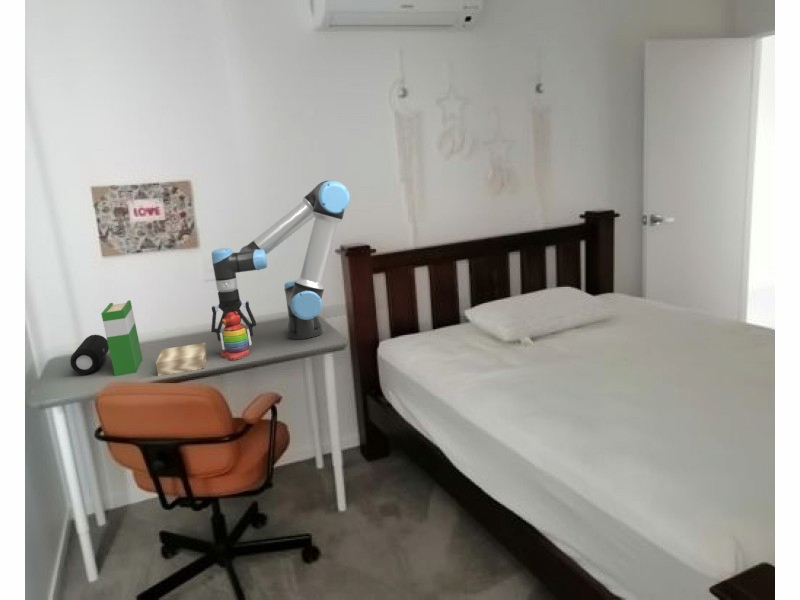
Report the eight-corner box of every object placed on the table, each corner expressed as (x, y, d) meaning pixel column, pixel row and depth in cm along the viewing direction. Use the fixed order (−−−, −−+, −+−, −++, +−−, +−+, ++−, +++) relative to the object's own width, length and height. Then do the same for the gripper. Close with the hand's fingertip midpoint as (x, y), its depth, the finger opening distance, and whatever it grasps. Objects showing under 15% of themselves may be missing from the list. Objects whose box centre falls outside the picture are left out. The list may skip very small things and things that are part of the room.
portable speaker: (100, 373, 225) (94, 348, 223) (71, 378, 223) (65, 353, 220) (112, 354, 249) (107, 331, 247) (86, 358, 247) (81, 335, 244)
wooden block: (207, 354, 236) (205, 342, 234) (204, 368, 219) (201, 355, 218) (164, 361, 232) (162, 349, 231) (158, 375, 216) (155, 362, 215)
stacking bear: (219, 356, 232) (211, 312, 228) (243, 349, 239) (236, 305, 234) (231, 361, 224) (224, 316, 220) (256, 354, 231) (249, 309, 226)
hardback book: (122, 361, 237) (110, 303, 231) (142, 358, 239) (130, 300, 233) (114, 376, 220) (101, 313, 215) (136, 372, 222) (123, 310, 217)
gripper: (196, 295, 219) (206, 354, 225) (257, 287, 224) (266, 344, 229) (198, 291, 227) (208, 348, 232) (257, 283, 231) (266, 339, 236)
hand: (237, 346), depth 231 cm, fingers closed on stacking bear, 9 cm apart
